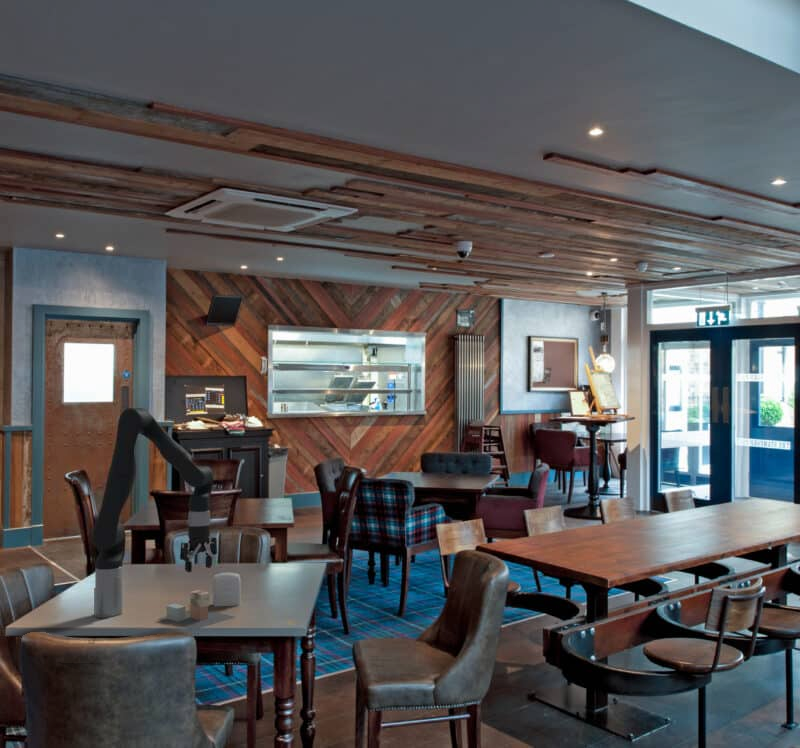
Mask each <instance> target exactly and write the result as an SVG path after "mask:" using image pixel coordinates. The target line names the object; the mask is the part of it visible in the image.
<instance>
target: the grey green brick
mask: <svg viewBox="0 0 800 748" xmlns="http://www.w3.org/2000/svg"><path fill="white" fill-rule="evenodd" d="M185 611H186V606H185V605H182V604H178V603H171V604H168V605H166V617H167V619H170V620H173V621H177V622H178V621H181V620H185Z"/></svg>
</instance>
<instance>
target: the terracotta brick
mask: <svg viewBox="0 0 800 748" xmlns="http://www.w3.org/2000/svg"><path fill="white" fill-rule="evenodd" d="M188 606H189V608H188V611H189V618H193V619H196V620H200V621H201V620H204V619H208V610H209V606H206V607H202V608H201V607H197V606H193V605H190V604H189V605H188Z"/></svg>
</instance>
